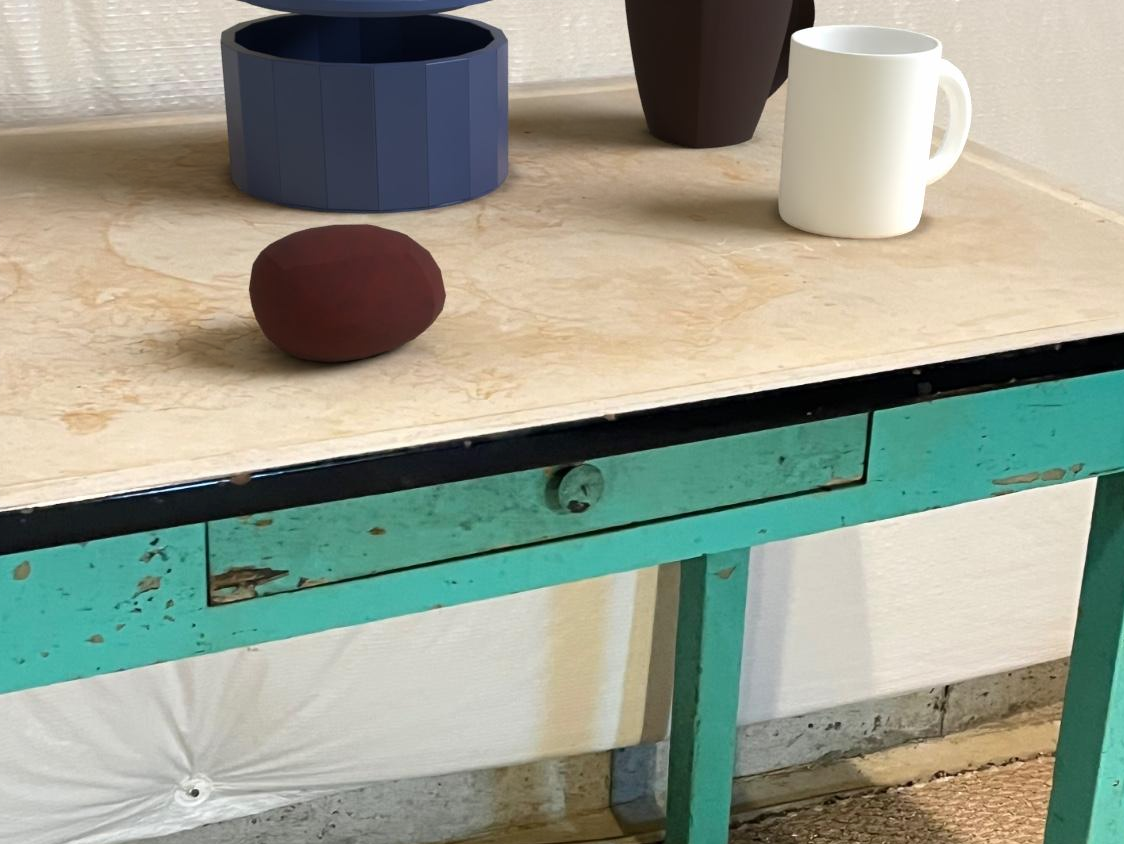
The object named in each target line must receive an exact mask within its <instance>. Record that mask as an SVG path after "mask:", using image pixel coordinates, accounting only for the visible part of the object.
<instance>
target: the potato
mask: <svg viewBox="0 0 1124 844" xmlns="http://www.w3.org/2000/svg"><path fill="white" fill-rule="evenodd" d="M444 283H445V282H444V279H443V274H442V270H441V268H440V266H439V265H438V263H437V261H436V259H435V258H434V257H433V255H432V253H431V252H430V251H429V250H428V249H427V248H426V247H424V246H423V245H422V244H420V243H419V242H417V241H416V240H414V239H413V238H412V237H410V236H409V235H408V234H406V233H404V232H401V231H398V230H393V229H390V228H385V227H381V226H378V225H374V224H368V223H361V224H360V223H359V224H354V223H353V224H352V223H351V224H331V225H330V224H329V225H323V226H315V227H309V228H306V229H302V230H298V231H294V232H292V233H289V234H288V235H285V236H283V237H281V238H279V239H276V240H275V241H273V242H271V243H269V244H268V245H267V246H266V247H264V248H263V249H262V250H261V251H260V252H259V253H258V255H257V256H256V258H255V259H254V261H253V263H252V265H251V271H250V277H249V285H248V293H249V299H250V306H251V309H252V312H253V315H254V318H255V320H256V323H257V324H258V326H259V328H260V329H261V332H262V333H263V334H264V336H265V338H266V339H267V340H268V342H270V343H272V345H274V346H275V347H276V348H277V349H279V350H281V351H282V352H284V353H286V354H288V355H290V356H293V357H295V358H297V359H301V360H306V361H310V362H318V363H319V362H323V363H340V362H347V361H355V360H357V361H358V360H364V359H367V358H369V357H373V356H375V355H380V354H382V353H385V352H389V351H392V350H395V349H397V348H399V347H402V346H403V345H405V344H407V343H410V342H412V341H413V340H415V339H416V338H418V337H419V336H421V334H423V333H424V332H426V330H427V329H429V328H430V327H431V326H432V325H433V324H434V323H435V321H437V319H438V317H439V316H440V315H441V313H443V311H444V306H445V302H446V298H447V292H446V288H445V284H444Z"/></svg>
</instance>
